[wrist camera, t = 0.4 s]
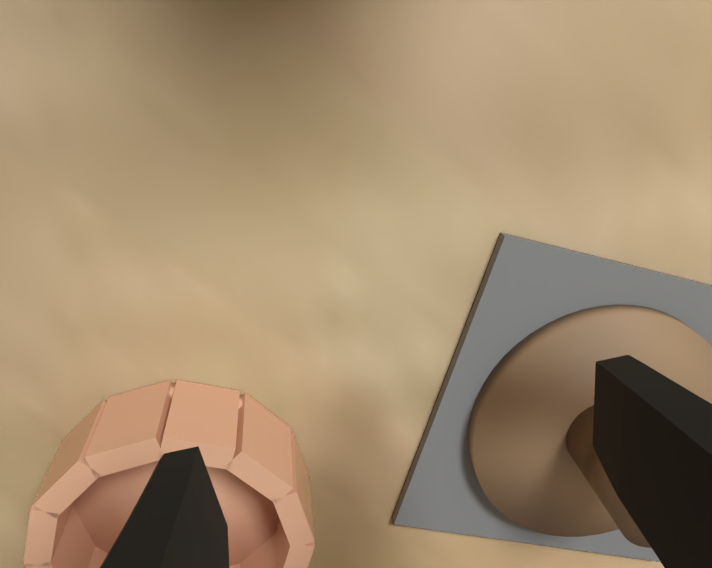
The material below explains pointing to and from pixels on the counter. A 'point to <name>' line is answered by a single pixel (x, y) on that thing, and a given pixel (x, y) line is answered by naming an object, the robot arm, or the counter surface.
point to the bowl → (139, 458)
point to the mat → (492, 342)
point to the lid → (570, 416)
